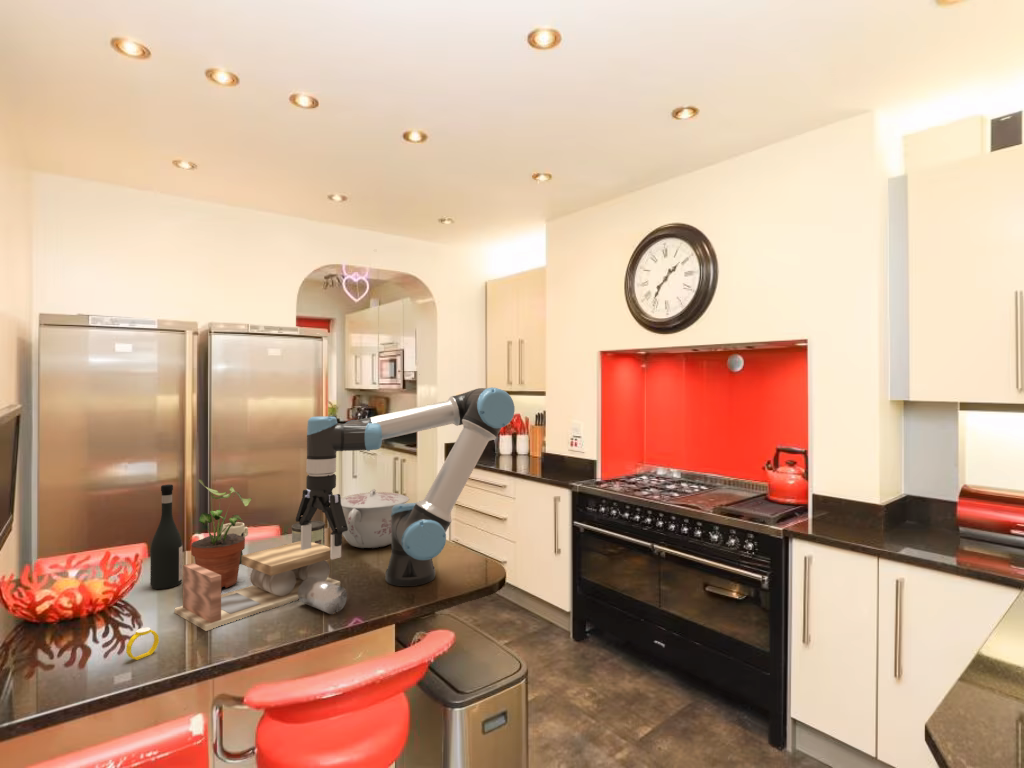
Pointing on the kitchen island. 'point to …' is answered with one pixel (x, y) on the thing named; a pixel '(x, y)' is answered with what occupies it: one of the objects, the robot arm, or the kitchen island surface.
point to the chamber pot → (370, 518)
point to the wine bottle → (166, 547)
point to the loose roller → (322, 595)
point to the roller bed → (240, 593)
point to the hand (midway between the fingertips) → (320, 553)
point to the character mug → (236, 531)
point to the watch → (138, 632)
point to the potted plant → (220, 544)
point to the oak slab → (285, 558)
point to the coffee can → (316, 532)
